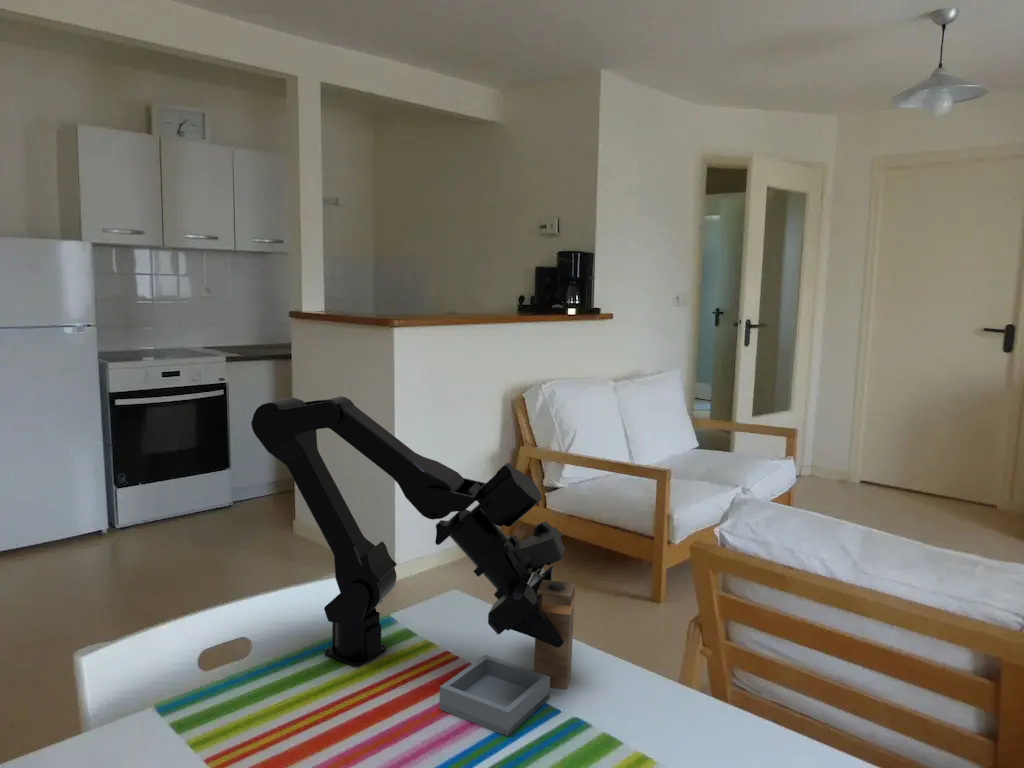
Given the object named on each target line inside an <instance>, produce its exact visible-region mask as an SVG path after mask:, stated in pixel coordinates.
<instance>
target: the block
mask: <svg viewBox="0 0 1024 768" xmlns="http://www.w3.org/2000/svg"><path fill="white" fill-rule="evenodd" d="M575 589H576V583H575V582H567V581H558V580H552V581H551V580H542V582H541V584H540V586H539V589H538V591H537V596H538V595H540V594H541V593H542V609H543V611H544V613H545V614H546V615H547V617H548V618H549V620H550V621H551V623H552V624H553V626H554V627H555V629H556V630H557V631H558V633H559V635H560V636H561V638H562V639H563V641H564V643H563V645H561V646H560V647H559V648H557V647H555V646H552V645H550V644H547V643H545V642H543V641H540V640H538V639H536V638H534V657H533V658H534V659H533V661H534V662H533V671H535V672H538V673H541V674H544V675H547V676H550V688H552V689H553V688H554V689H558V690H559V689H560V690H567V689H568V686H569V681H570V678H571V674H572V659H573V657H572V656H573V637H574V635H573V634H574V613H575V600H576V599H575V597H576V590H575Z"/></svg>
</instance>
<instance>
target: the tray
mask: <svg viewBox="0 0 1024 768" xmlns="http://www.w3.org/2000/svg"><path fill="white" fill-rule="evenodd" d="M550 689H551V687H550V676H547V675H544V674H541V673H538V672H535V671H534V670H532V669H528V668H525V667H522V666H519V665H517V664H513V663H511V662H507V661H506V660H505V661H504V660H502V659H499V658H496V657H492V656H490V655H487V654H484V655H483V656H481V657H480V658H478V659H477V660H475V661H473V663H471V664H470V665H468V666H466V667H465V669H464V668H463V670H462V671H459V672H458V673H457V674H455V676H453V677H451V678H450V679H449V680H447V681H446V682H444V683H443V684H442V685H440V686H439V710H440V711H442V712H446V713H448V714H450V715H453V716H456V717H458V718H460V719H463V720H466V721H469V722H471V723H473V724H476V725H478V726H480V727H483V728H485V729H488V730H491V731H493V732H496V733H498V734H499V735H503V736H506V737H509V736H510V735H511V734H512V733H513V732H514V731H516V730H517V728H519V727H520V726H521V725H522V724H523V723H524V722H525V721H526V720H527V719H528V718H530V717H531V716H532V715H533V714H534V713H535V712H536V711H537V710H538V709H540V708H541V707H542V705H544V704H545V703H546V702H547V701H548V700H549V699H550Z"/></svg>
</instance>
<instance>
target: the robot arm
mask: <svg viewBox="0 0 1024 768" xmlns="http://www.w3.org/2000/svg"><path fill="white" fill-rule="evenodd" d="M250 423H251V424H250V425H251V429H252V433H253V434H254V435H255V437H256V438H257V440H258V441H259V442H260V443H261V445H262V447H264V449H265V450H266V452H267V453H268V454H270V455H271V456H272V457H274V458H275V459H277V460H278V461H279V462H280V463H282V464H283V465H284V466H285V468H287V470H288V472H289V474H290V475H291V477H292V480H293V481H294V483H295V485H296V487H297V489H298V491H299V493H300V494H301V497H302V498H303V500H304V502H305V504H306V505H307V507H308V509H309V511H310V513H311V515H312V516H313V519H314V521H315V522H316V525H317V526H318V528H319V530H320V532H321V534H322V536H323V538H324V540H325V541H326V543H327V545H328V546H329V548H330V550H331V552H332V555H333V561H334V563H333V564H334V577H335V581H336V584H337V586H338V587H337V588H338V590H339V592H340V593H339V594H338V595H336V596H335V598H333V599H332V600H331V601H329V603H327V604H326V605H325V606H324V608H323V609H324V613H325V615H326V620H327V622H329V623H331V626H332V630H331V631H332V635H331V636H332V638H331V639H332V641H331V642H332V646H330V647H328V648H326V649H324V655H325V656H327V657H329V658H333V659H335V660H338V661H340V662H343V663H344V664H345V663H346V664H348V665H351V666H352V667H359V666H361V665H363V664H364V663H366V662H368V661H370V660H371V659H373V658H374V657H376V656H379V655H380V654H382V653H383V652H385V651H387V648H388V647H387V645H385V644H384V643H382V624H380V623H381V622H380V618H381V617H380V615H381V614H380V612H379V611H377V609H376V607H378V605H379V604H381V603H382V602H383V599H384V598H386V597H387V596H388V594H389V593H390V592H391V591H392V590H393V588H394V587H395V584H396V581H397V580H396V579H397V572H396V569H395V567H396V566H397V562H396V561H394V560H393V558H392V557H391V556H390V554H389V552H388V548H387V545H386V544H385V542H384V541H380V542H378V543H377V544H376V545H375V544H373V543H372V541H370V540H368V539H367V538H366V537H365V536H364V534H363V532H362V531H361V529H360V527H359V525H358V522H357V521H356V519H355V517H354V516H353V514H352V512H351V510H350V508H349V506H348V504H347V503H346V501H345V498H344V497H343V495H342V493H341V492H340V489H339V487H338V485H337V484H336V481H335V480H334V478H333V476H332V475H331V473H330V471H329V468H328V467H327V465H326V463H325V461H324V460H323V457H322V456H321V454H320V451H319V449H318V437H317V436H318V435H317V430H321V429H330V430H331V431H333V432H334V433H335V434H336V435H338V436H339V437H340V438H342V439H343V440H344V441H345V442H346V443H348V444H349V445H350V446H351V447H353V448H354V449H355V450H356V451H358V452H360V454H362V455H363V456H364V457H366V458H367V459H368V460H369V461H371V462H372V463H373V464H375V465H376V466H377V467H378V468H380V469H381V470H382V471H383V472H385V473H386V474H387V475H388V476H389V477H391V478H392V479H393V480H394V481H395V482H396V484H397V485H398V486H399V488H400V490H401V491H402V494H403V495H404V497H405V499H406V500H407V501H408V502H409V503H410V504H411V505H412V506H413V507H414V509H415V510H416V511H417V512H418V513H419V514H420V515H421V516H422V517H424V518H426V519H428V520H431V521H432V520H439V521H438V522H437V523H436V524H435V529H436V530H435V531H436V534H435V541H434V543H435V545H437V546H440V545H441V544H442V543H443V542H444V541H446V540H447V539H448V538H451V539H452V540H453V542H454V543H455V544H456V545H457V547H459V549H460V550H461V551H462V552H463V553H464V554H465V555H466V556H467V558H468V559H469V560H470V561H471V562H472V564H473V565H474V566H475V568H474V570H473V573H474V574H475V575H476V576H477V578H480V576H482V575H483V576H484V577H485V578H486V579H487V580H488V581H489V582H490V584H491V585H492V586H493V587H494V589H496V590H495V592H494V594H493V596H494V597H495V598H496V599H497V600H496V601H495V602H494V603H493V604H492V606H491V608H490V610H489V612H488V613H487V614H488V615H487V623H488V625H489V627H490V628H491V629H492V630H493V631H494V632H495V634H496V635H500V634H502V633H503V632H504V631H505V630H506V631H510V630H511V631H514V632H517V633H520V634H522V635H526V636H529V637H531V638H534V639H535V638H536V639H538V640H540V641H543V642H545V643H547V644H550V645H552V646H555V647H557V648H559V647H560V646H561V645H563V643H564V641H563V639H562V638H561V636H560V635H559V633H558V631H557V630H556V629H555V627H554V626H553V624H552V623H551V621H550V620H549V618H548V617H547V615H546V614H545V613H544V611H543V609H542V593H541V594H540V595H538V596H537V591H538V589H539V586H540V584H541V582H542V580H551V581H554V580H553V579H554V570H555V567H554V565H551V564H554V563H557V562H559V561H561V560H562V559H563V556H564V555H563V554H564V552H565V551H566V548H565V546H564V544H563V540H562V533H561V531H559V530H558V528H557V527H556V526H554V527H553V526H552V525H550V523H548V522H547V521H545V520H544V521H542V522H539V523H537V524H536V526H535V527H534V532H533V535H531V534H530V535H529V536H528V538H525V539H523V540H520V539H519V538H518V537H517V536H516V535H512V534H509V535H508V536H507V535H506V534H505V533H504V532H503V531H502V530H501V527H502V526H505V527H509V528H510V527H512V526H514V524H516V523H517V522H519V520H520V519H521V518H523V517H524V516H525V515H526V514H527V513H528V512H530V511H531V510H532V509H533V508H534V507H535V506H537V505H538V504H539V503H541V501H542V499H543V497H542V493H541V491H540V489H539V487H538V486H537V485H536V483H535V482H534V481H533V480H532V478H530V476H529V475H526V474H525V473H523V471H521V470H519V469H517V468H514V467H513V466H512V464H511V463H510V462H506V463H505V464H504V465H502V467H500V469H498V470H497V471H496V473H495V475H494V476H492V477H491V478H490V479H488V481H486V482H483V481H478V480H474V479H470V478H465V477H463V476H462V475H461V474H460V473H459V472H458V471H457V470H454V469H453V468H450V467H449V466H448V465H445V464H443V463H442V462H439V461H438V460H435V459H431V458H428V457H425V456H423V455H421V454H419V453H416V452H415V451H414V450H413V449H411V448H410V447H408V446H407V445H406V444H405V443H404V442H403V441H401V440H400V439H398V438H397V437H396V436H394V435H393V434H392V433H390V432H389V431H388V430H387V429H385V428H384V427H383V426H382V425H380V424H379V423H377V421H375V420H374V419H373V418H371V417H370V416H368V414H366V413H365V412H363V410H361V409H360V408H359V407H357V406H356V405H355V404H354V402H352V400H351V399H350V398H348V397H346V396H342V395H341V396H340V395H339V396H337V397H332V398H329V399H319V400H311V401H304V400H302V399H299V398H296V397H285V398H280V399H278V400H273V401H269V402H266V403H263V404H261V405H259V406H258V407H257V408H256V409H255V411H254V413H253V416H252V420H251V421H250ZM475 502H478V504H477V505H476V506H475V507H473V508H472V509H471V510H469V509H468V508H469V507H470V506H471V505H473V504H474V503H475ZM453 512H455V514H454V515H453V516H451V518H450V519H449V520H444V518H446V517H447V516H449V515H450V514H451V513H453ZM440 519H441V520H440ZM546 565H547V566H550V565H551V566H550V567H549V568H548V569H546V570H545V569H544V567H545V566H546Z"/></svg>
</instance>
